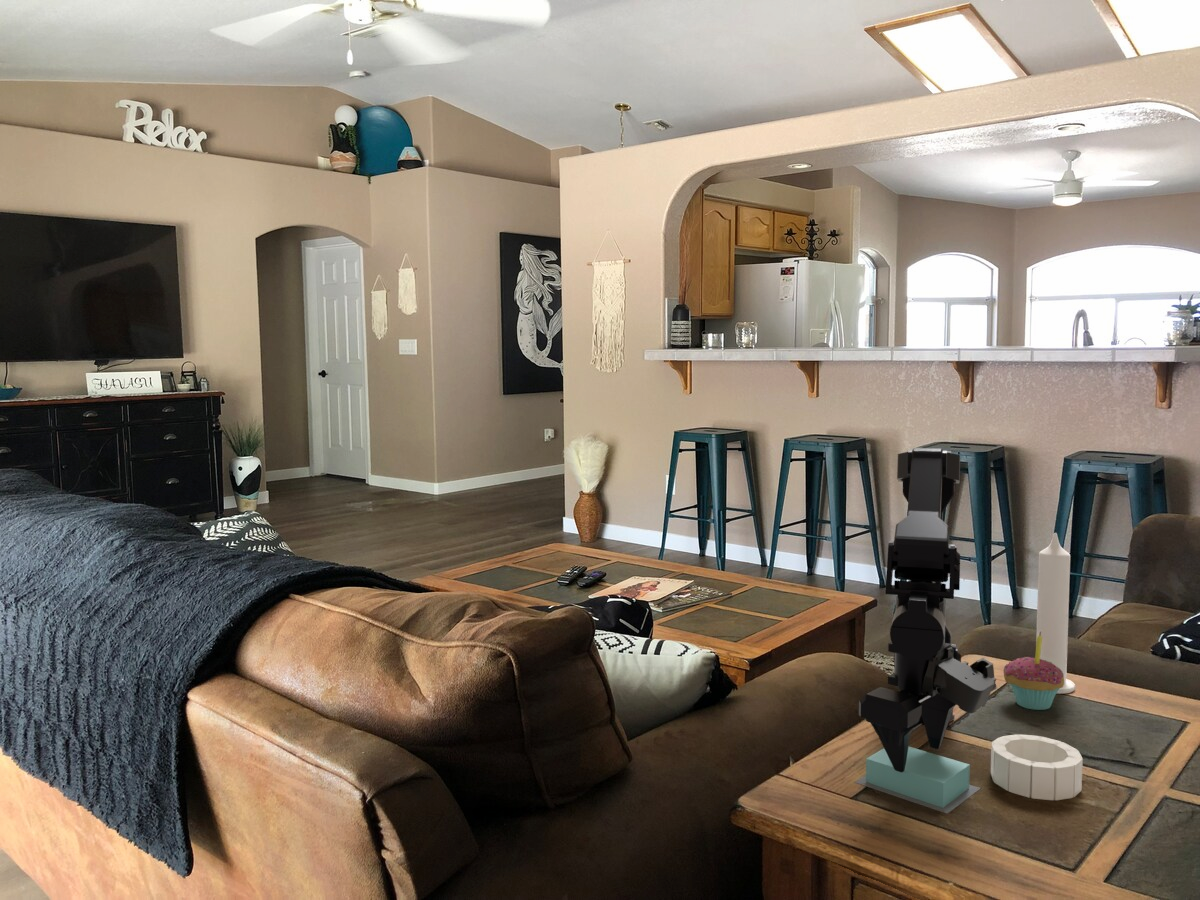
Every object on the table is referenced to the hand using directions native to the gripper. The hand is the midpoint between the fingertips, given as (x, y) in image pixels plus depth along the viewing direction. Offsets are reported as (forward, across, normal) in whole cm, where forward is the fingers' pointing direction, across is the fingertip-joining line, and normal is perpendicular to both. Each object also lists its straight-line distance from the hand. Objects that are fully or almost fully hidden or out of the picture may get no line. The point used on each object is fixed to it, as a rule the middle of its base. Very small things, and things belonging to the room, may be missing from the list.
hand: (917, 759), depth 118 cm
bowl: (+4, +11, -10) cm, 15 cm away
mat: (+4, 0, 0) cm, 4 cm away
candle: (+4, +49, +2) cm, 49 cm away
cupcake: (+4, +39, +1) cm, 39 cm away
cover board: (+3, 0, 0) cm, 3 cm away
